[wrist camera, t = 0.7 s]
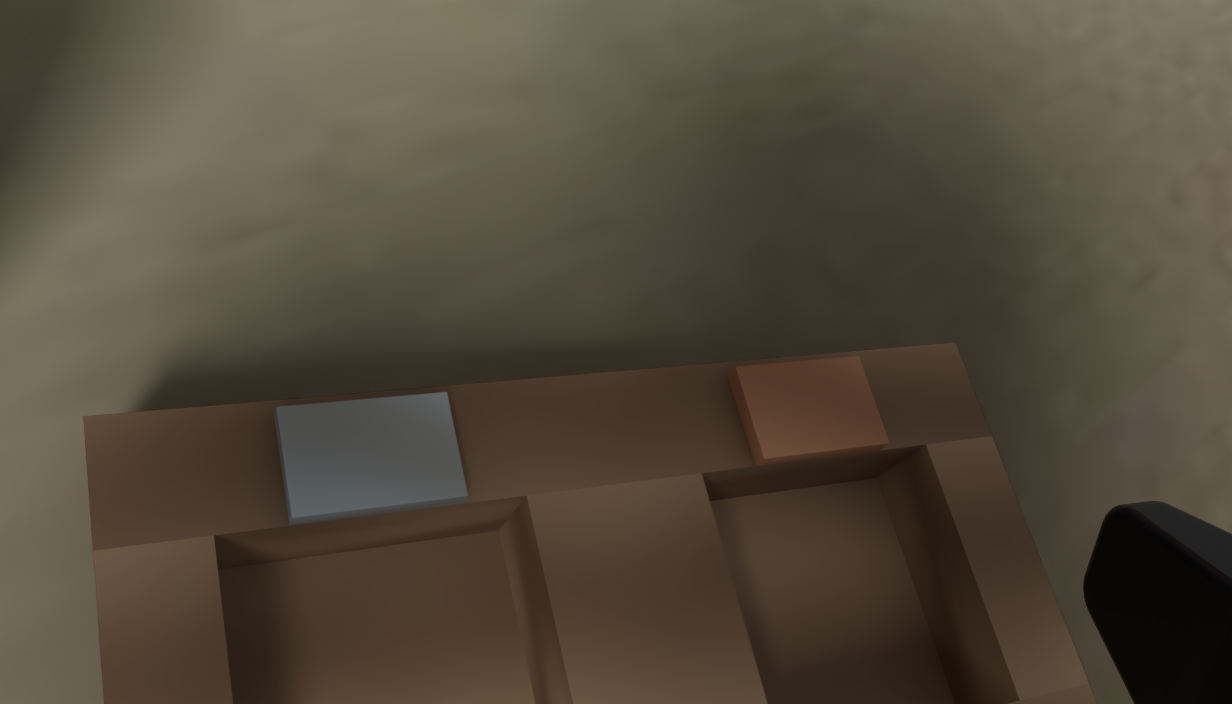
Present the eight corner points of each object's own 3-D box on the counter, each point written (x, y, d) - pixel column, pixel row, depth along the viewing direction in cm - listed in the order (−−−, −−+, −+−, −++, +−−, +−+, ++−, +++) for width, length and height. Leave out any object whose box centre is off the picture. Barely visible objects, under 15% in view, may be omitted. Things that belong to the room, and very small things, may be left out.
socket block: (1052, 817, 25) (1150, 799, 22) (134, 1095, 18) (133, 1114, 15) (896, 388, 29) (966, 334, 26) (88, 470, 21) (81, 406, 19)
